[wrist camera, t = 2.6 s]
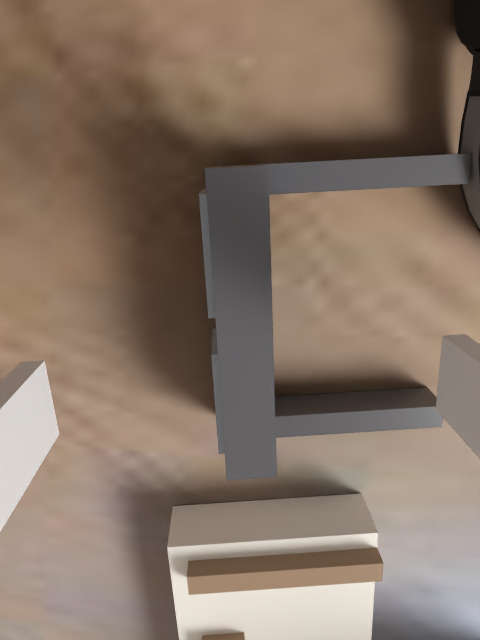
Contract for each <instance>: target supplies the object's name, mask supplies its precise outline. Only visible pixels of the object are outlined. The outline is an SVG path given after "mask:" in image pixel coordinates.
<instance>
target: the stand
mask: <svg viewBox="0 0 480 640" xmlns="http://www.w3.org/2000/svg"><path fill="white" fill-rule="evenodd" d="M377 541H378V532H377V529H376V527H375V524H374V522H373V520H372V517H371V515H370V513H369V510H368V508H367V505H366V503H365V501H364V498H363V496H362V494H346V495H331V496H316V497H301V498H286V499H272V500H257V501H242V502H227V503H212V504H197V505H183V506H173V509H172V516H171V523H170V530H169V537H168V544H167V551H168V558H169V566H170V573H171V581H172V589H173V596H174V604H175V612H176V619H177V627H178V635H179V640H371V636H372V620H373V604H374V588H375V582H378V581H382V575H383V561H382V559H381V556H380V554H379V551H378V549H377Z"/></svg>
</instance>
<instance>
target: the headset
mask: <svg viewBox="0 0 480 640" xmlns="http://www.w3.org/2000/svg"><path fill="white" fill-rule="evenodd" d="M454 21H455V27H456V31H457V35H458V37H459V39H460V41H461V43H463V44H464V45H465V46H466V47H467V49H468V51H469V52H470V53H471V54H472V55H473V65H472V74H471V80H470V86H469V91H468V93H467V98H466V103H465V108H464V113H463V118H462V123H461V131H460V140H459V148H458V154H466V153H472V158H471V167H470V176H469V184H460V187H461V190H462V194H463V197H464V201H465V204H466V208H467V210H468V212H469V214H470V216H471V217H472V219H473V221H474V223H475V225H476V226H477V228H478V230H479V231H480V0H454Z"/></svg>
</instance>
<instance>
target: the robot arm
mask: <svg viewBox="0 0 480 640" xmlns="http://www.w3.org/2000/svg"><path fill="white" fill-rule="evenodd" d="M436 410H437V411H438V413H439V414H440V415H441V416H442V417H443V418H444V419H445V420H446V421H447V423H448V424H449V425H450V426H451V427H452V428H453V429H454V430H455V432H456V433H457V434H458V435H459V436H460V437H461V438H462V439H463V441H464V442H465V443H466V444H467V445H468V446H469V447H470V448H471V450H472V451H473V452H474V453H475V454H476V455H477V456H478V457H479V458H480V344H479V343H477V342H476V341H474V340H473V339H472V338H470V337H469V336H467V335H466V334H463V335H447V336H443V337H442V348H441V358H440V369H439V379H438V390H437V400H436ZM58 435H59V431H58V426H57V421H56V416H55V411H54V406H53V401H52V396H51V391H50V386H49V381H48V376H47V371H46V366H45V361H29V362H20V363H19V364H18V365H17V366H16V367H15V368H14V369H13V370H12V371H11V372H10V373H9V374H8V375H7V376H6V377H5V378H4V379H3V380H2V381H1V382H0V532H1V530H2V528H3V527H4V525H5V523H6V522H7V520H8V518H9V517H10V515H11V513H12V512H13V510H14V508H15V507H16V505H17V503H18V502H19V500H20V498H21V497H22V495H23V493H24V492H25V490H26V488H27V487H28V485H29V483H30V482H31V480H32V478H33V477H34V475H35V473H36V472H37V470H38V468H39V467H40V465H41V463H42V462H43V460H44V459H45V457H46V455H47V454H48V452H49V450H50V449H51V447H52V445H53V444H54V442H55V440H56V439H57V437H58Z"/></svg>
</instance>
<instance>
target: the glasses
mask: <svg viewBox="0 0 480 640" xmlns="http://www.w3.org/2000/svg"><path fill="white" fill-rule="evenodd" d="M471 158H472V153H466V154H439V155H420V156H401V157H382V158H363V159H344V160H325V161H306V162H288V163H269V164H250V165H231V166H212V167H207V168H205V181H206V189H202V191H201V192H200V194H199V202H200V215H201V228H202V241H203V254H204V267H205V280H206V293H207V307H208V318H215V321H216V328H213V330H212V350H211V359H212V372H213V385H214V398H215V411H216V424H217V437H218V450H219V454H223V453H225V461H226V475H227V480H239V479H254V478H269V477H277V465H276V438H278V437H293V436H309V435H324V434H340V433H355V432H371V431H386V430H402V429H417V428H432V427H442V420H443V417H442V416H441V415H440V414H439V413H438V411H437V410H436V400H437V398H436V397H435V395H434V394H433V393H432V392H431V391H430V390H429V389H428V388H427V387H422V388H406V389H390V390H374V391H358V392H342V393H326V394H310V395H295V396H279V397H275V393H274V357H273V321H272V285H271V249H270V213H269V194H288V193H306V192H325V191H343V190H362V189H380V188H399V187H417V186H435V185H454V184H469V176H470V167H471Z"/></svg>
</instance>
